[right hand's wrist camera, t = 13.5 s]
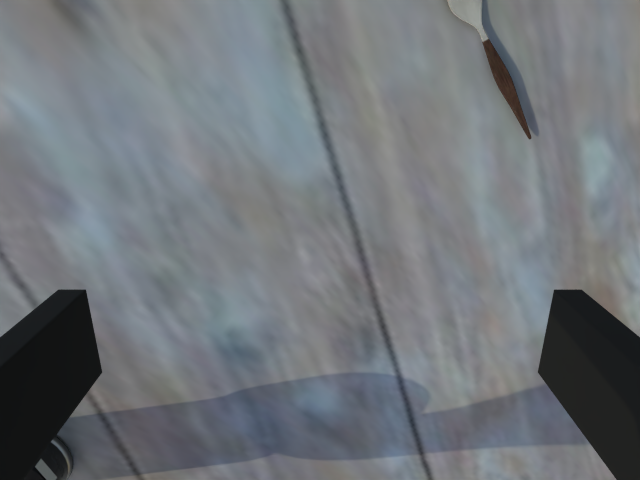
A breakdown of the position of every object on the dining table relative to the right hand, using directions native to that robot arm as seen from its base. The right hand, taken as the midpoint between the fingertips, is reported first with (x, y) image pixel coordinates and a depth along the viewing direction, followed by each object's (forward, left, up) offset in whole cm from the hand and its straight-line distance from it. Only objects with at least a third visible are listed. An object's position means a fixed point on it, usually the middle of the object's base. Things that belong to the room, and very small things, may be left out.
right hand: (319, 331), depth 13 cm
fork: (-16, +4, -29) cm, 33 cm away
